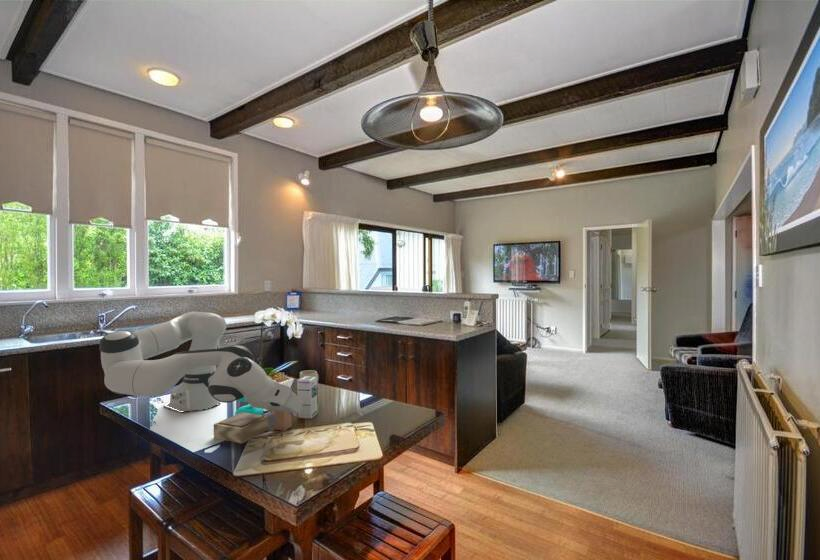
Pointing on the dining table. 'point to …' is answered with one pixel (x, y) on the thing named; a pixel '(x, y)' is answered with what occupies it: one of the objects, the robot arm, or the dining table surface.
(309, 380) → the syrup box
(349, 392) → the dining table surface
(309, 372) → the character mug
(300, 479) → the dining table surface
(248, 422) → the plinth
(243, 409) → the donuts
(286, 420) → the terracotta block
